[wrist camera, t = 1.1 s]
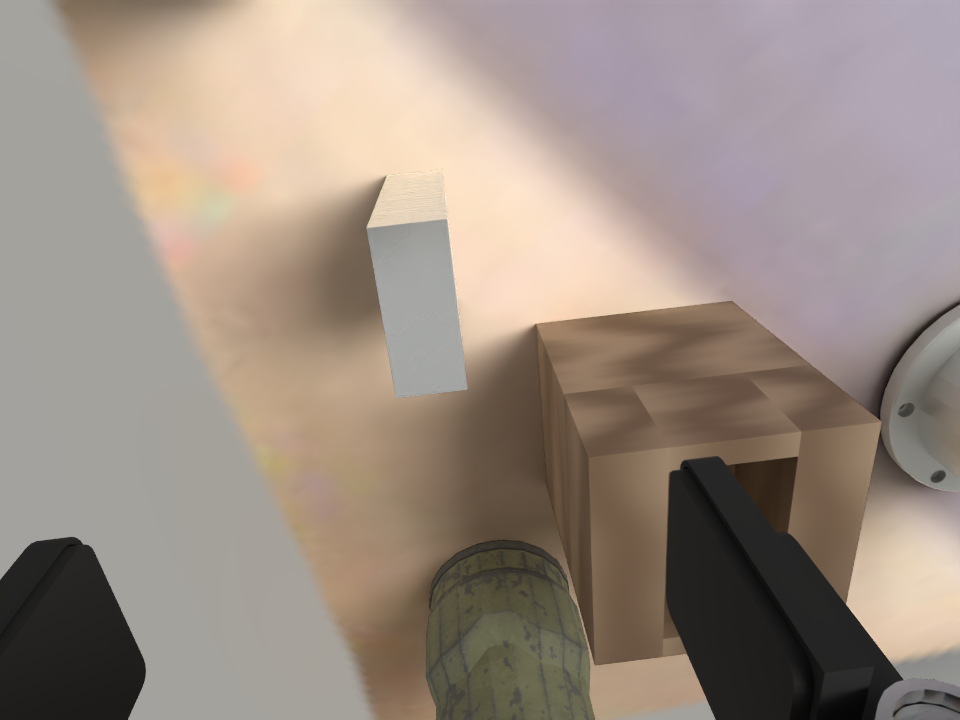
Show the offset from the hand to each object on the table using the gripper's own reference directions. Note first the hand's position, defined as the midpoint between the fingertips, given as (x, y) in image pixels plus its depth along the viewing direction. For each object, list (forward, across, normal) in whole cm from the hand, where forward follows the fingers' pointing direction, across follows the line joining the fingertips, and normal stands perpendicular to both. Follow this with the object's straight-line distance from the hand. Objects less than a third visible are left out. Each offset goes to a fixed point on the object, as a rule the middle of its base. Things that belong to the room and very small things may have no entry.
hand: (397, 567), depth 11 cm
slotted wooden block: (+22, -10, +10) cm, 26 cm away
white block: (+22, 0, 0) cm, 22 cm away
